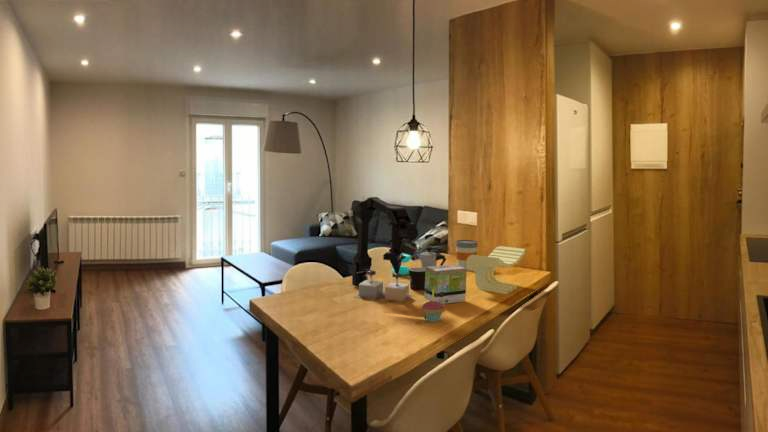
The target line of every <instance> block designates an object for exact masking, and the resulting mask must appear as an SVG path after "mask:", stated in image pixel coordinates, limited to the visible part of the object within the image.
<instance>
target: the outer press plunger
mask: <svg viewBox="0 0 768 432" xmlns="http://www.w3.org/2000/svg"><path fill="white" fill-rule="evenodd" d="M391 274H392V278H395V283H396V286H398V283H399V278H402V277H403V275H402V273H391Z"/></svg>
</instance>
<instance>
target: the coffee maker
mask: <svg viewBox="0 0 768 432" xmlns="http://www.w3.org/2000/svg"><path fill="white" fill-rule="evenodd" d="M426 249H427V250H426V251H425V252H420V253H416V256H418V258H419V260H420V263H421V268H425V269H426V267H431V266H437V261H440V260H441V261H442V262H441V263H440V264H439V266H442V265H445V262H446V261H447V258H446V257H445V255H444V254H441V253H439V252H437V253H436V252H433V251H432V246H426Z"/></svg>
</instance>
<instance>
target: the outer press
mask: <svg viewBox="0 0 768 432" xmlns="http://www.w3.org/2000/svg"><path fill="white" fill-rule="evenodd" d="M409 286H410V283H402V282H398V286H396V282H390V283H388V284H386V285H385V286H384V292H385V299H387V300H396V301H404V300H405V299H406V298H407V297H409V295H410V294H409V293H410V291H409V289H410V287H409Z"/></svg>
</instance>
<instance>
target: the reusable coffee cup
mask: <svg viewBox="0 0 768 432" xmlns="http://www.w3.org/2000/svg"><path fill="white" fill-rule="evenodd" d="M477 249H478V241H477V240H473V239H458V240H455V258H456V261H457V266H460V267H463V268H466V260H467V258H468V257H469V256H470V255H478V251H477Z"/></svg>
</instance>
